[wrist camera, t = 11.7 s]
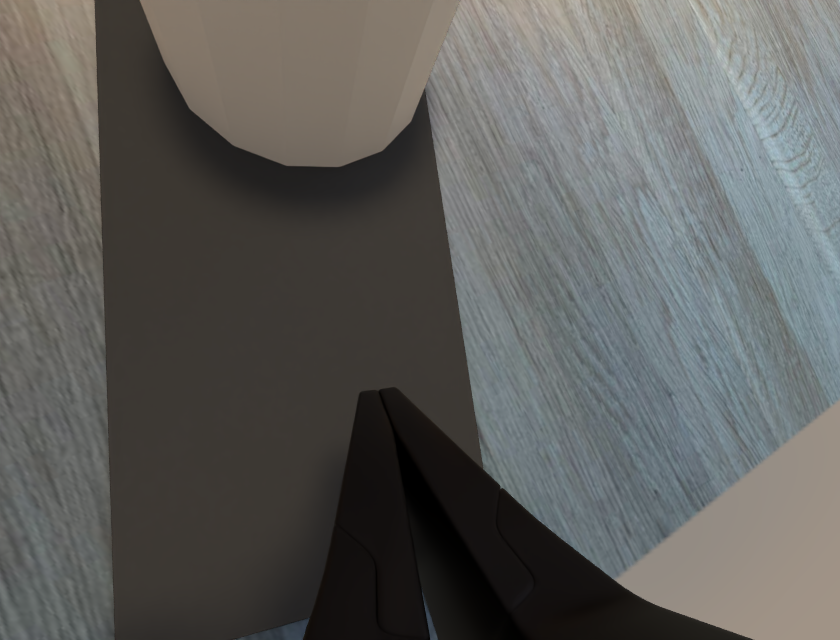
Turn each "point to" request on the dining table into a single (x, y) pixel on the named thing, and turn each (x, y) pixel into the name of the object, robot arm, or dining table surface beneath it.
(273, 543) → the plate
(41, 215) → the dining table surface
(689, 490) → the dining table surface
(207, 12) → the container
